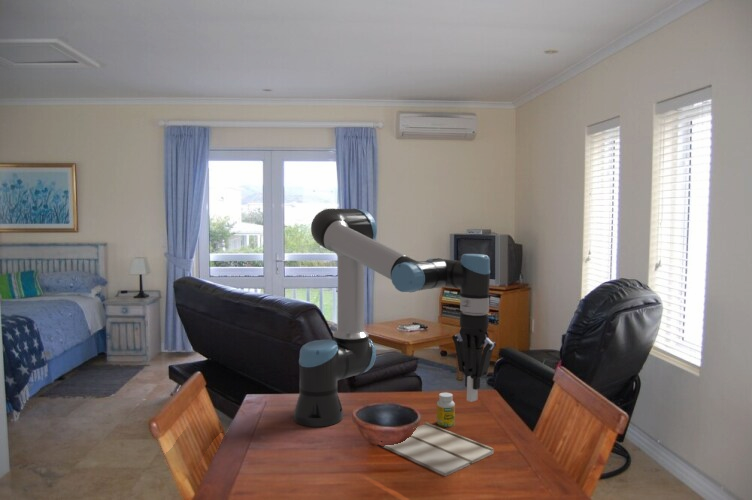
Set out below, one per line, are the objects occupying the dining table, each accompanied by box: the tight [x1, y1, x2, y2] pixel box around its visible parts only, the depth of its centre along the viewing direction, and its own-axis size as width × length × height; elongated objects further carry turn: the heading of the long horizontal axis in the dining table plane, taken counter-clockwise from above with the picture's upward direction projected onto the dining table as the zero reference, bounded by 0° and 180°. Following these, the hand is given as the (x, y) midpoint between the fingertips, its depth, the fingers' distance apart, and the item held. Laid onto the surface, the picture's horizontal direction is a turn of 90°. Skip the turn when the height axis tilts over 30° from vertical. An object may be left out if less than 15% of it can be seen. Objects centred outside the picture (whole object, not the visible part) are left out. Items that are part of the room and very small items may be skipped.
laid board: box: [383, 437, 472, 477], centre depth 144 cm, size 24×10×2 cm, turn 42°
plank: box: [411, 421, 495, 465], centre depth 150 cm, size 24×9×2 cm, turn 42°
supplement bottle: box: [436, 392, 456, 428], centre depth 164 cm, size 5×5×10 cm
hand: (472, 400), depth 147 cm, fingers closed
